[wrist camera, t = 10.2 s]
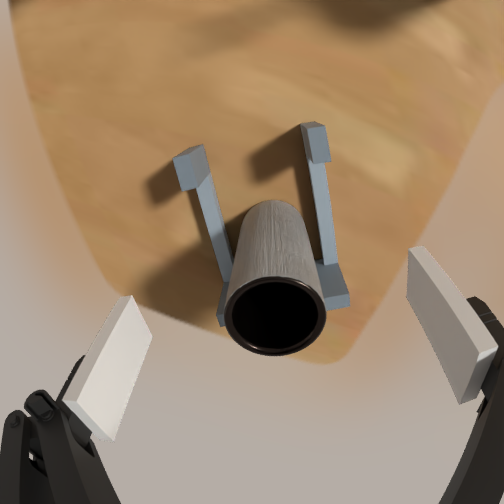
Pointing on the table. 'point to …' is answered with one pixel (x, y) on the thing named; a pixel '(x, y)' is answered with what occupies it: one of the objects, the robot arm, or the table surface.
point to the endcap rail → (317, 153)
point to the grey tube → (274, 283)
